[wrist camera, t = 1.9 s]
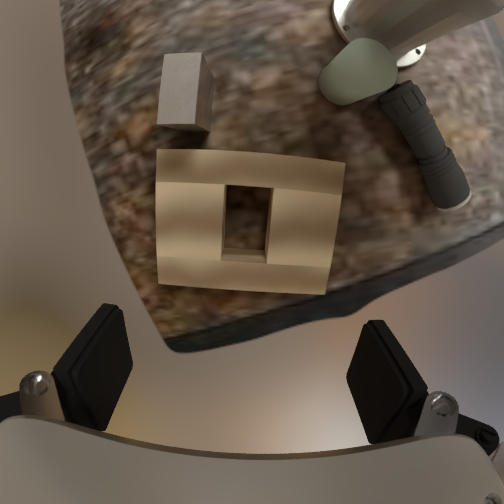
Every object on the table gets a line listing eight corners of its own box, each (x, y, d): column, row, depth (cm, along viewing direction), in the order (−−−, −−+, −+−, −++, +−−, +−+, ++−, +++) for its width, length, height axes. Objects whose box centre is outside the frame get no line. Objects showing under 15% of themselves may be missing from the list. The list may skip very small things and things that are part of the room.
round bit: (319, 60, 25) (343, 31, 17) (361, 70, 25) (397, 47, 17) (316, 101, 27) (342, 83, 18) (359, 109, 27) (397, 97, 19)
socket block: (168, 149, 28) (156, 149, 25) (333, 161, 29) (345, 163, 25) (167, 268, 33) (158, 283, 29) (317, 278, 34) (324, 294, 30)
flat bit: (187, 79, 26) (164, 54, 17) (214, 79, 26) (201, 52, 17) (182, 131, 28) (157, 124, 19) (210, 131, 28) (194, 123, 19)
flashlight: (366, 100, 27) (387, 92, 22) (397, 80, 26) (420, 71, 21) (428, 206, 31) (452, 216, 26) (453, 184, 30) (478, 191, 25)
